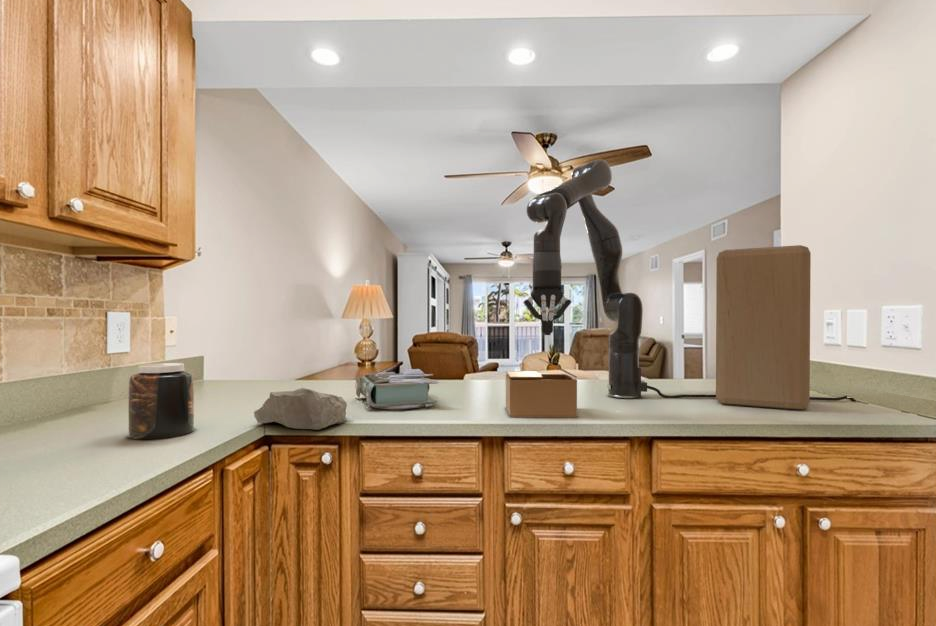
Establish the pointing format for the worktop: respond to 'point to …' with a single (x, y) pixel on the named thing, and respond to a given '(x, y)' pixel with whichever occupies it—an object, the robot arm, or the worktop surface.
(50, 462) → the worktop surface
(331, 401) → the stone
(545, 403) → the open shipping carton
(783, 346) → the wooden block
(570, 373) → the cardboard box flap
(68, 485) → the worktop surface
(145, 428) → the jar
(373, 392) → the ornate book
